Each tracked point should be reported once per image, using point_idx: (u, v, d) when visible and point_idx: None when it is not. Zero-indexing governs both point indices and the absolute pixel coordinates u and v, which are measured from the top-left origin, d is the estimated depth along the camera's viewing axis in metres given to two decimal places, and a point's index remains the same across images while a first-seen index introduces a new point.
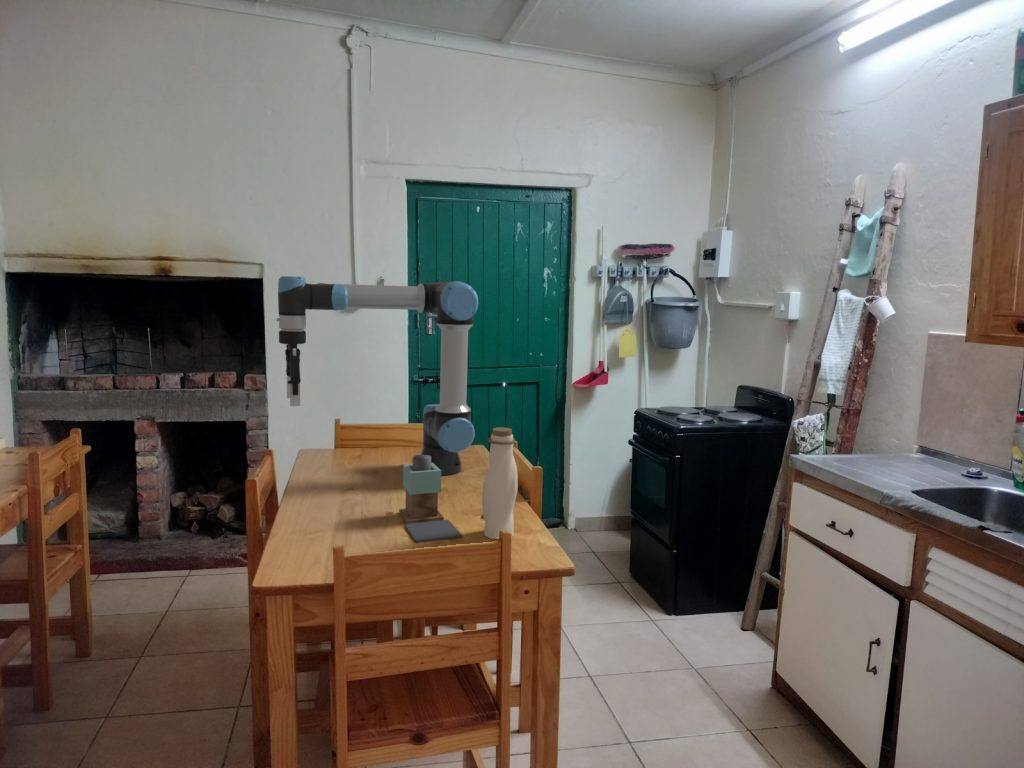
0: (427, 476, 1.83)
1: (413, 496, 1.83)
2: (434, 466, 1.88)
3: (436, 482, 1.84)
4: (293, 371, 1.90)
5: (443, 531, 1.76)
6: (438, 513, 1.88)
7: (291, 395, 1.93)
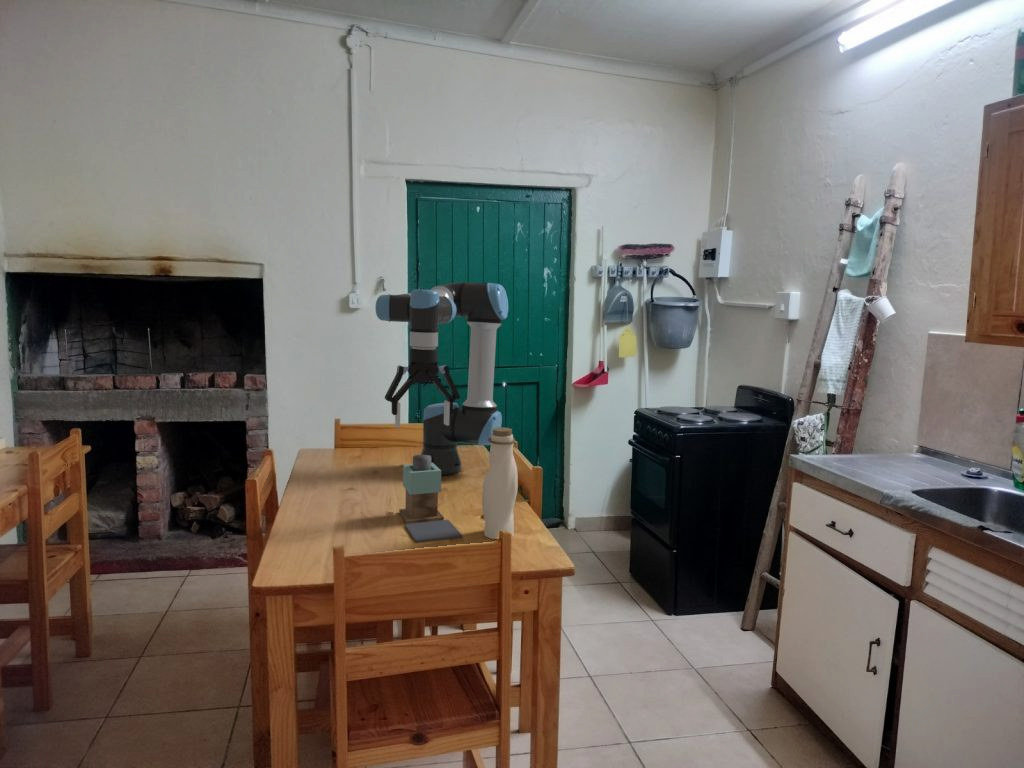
0: (427, 476, 1.83)
1: (413, 496, 1.83)
2: (434, 466, 1.88)
3: (436, 482, 1.84)
4: (389, 388, 1.80)
5: (443, 531, 1.76)
6: (438, 513, 1.88)
7: (395, 414, 1.82)
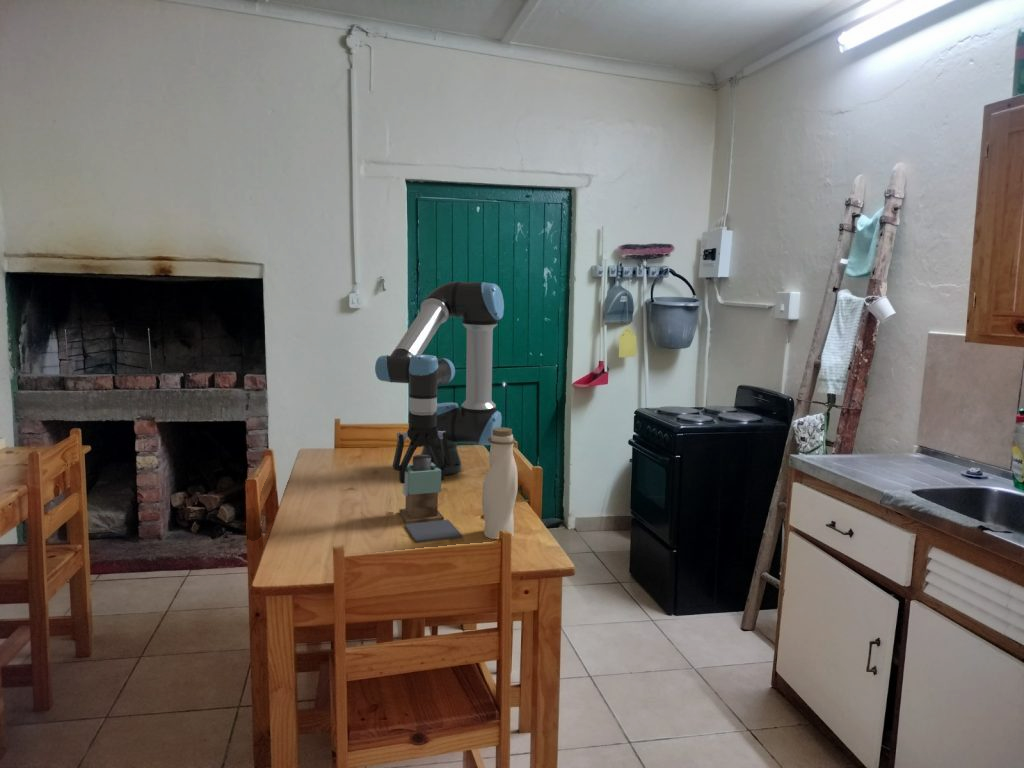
0: (427, 476, 1.83)
1: (413, 496, 1.83)
2: (434, 466, 1.88)
3: (436, 482, 1.84)
4: (394, 457, 1.83)
5: (443, 531, 1.76)
6: (438, 513, 1.88)
7: None
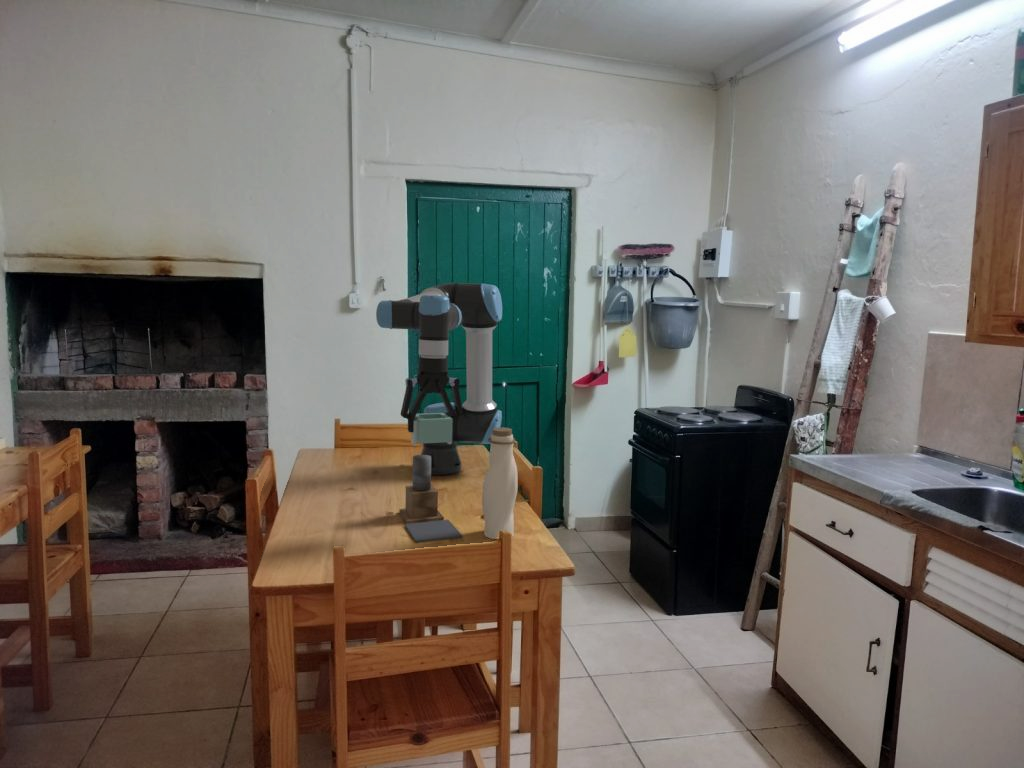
0: (437, 424, 1.71)
1: (413, 496, 1.83)
2: (445, 415, 1.76)
3: (447, 431, 1.72)
4: (403, 404, 1.71)
5: (443, 531, 1.76)
6: (438, 513, 1.88)
7: (411, 431, 1.74)
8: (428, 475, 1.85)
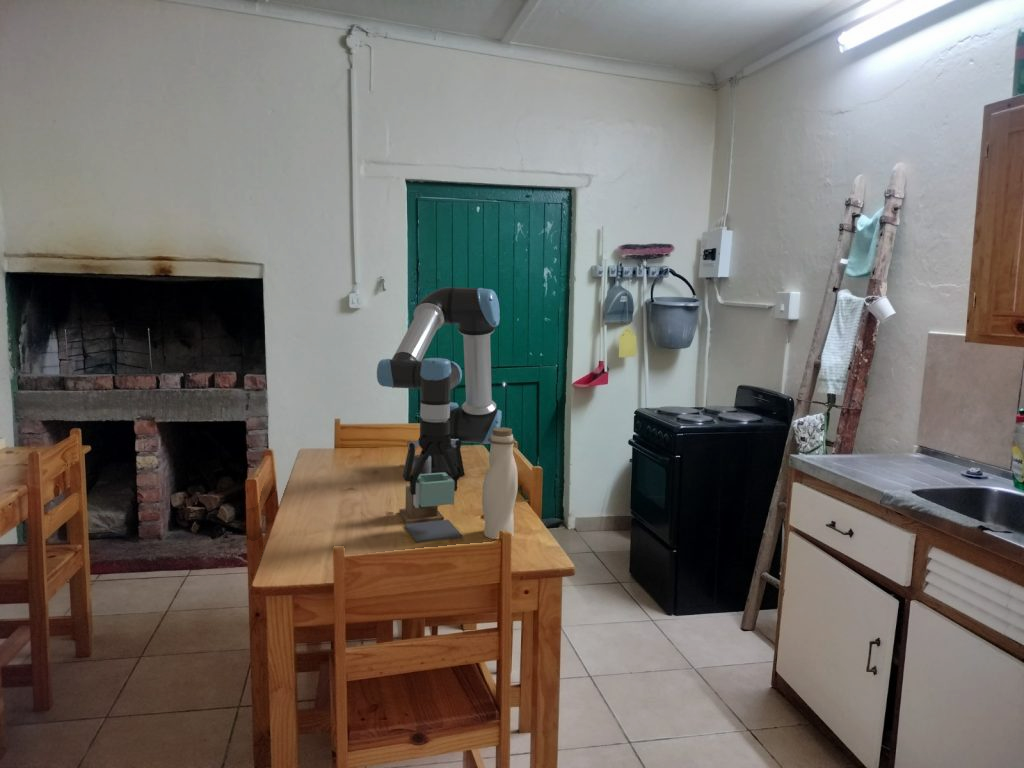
0: (440, 487, 1.71)
1: None
2: (447, 476, 1.77)
3: (449, 493, 1.73)
4: (405, 467, 1.72)
5: (443, 531, 1.76)
6: (438, 513, 1.88)
7: None
8: None
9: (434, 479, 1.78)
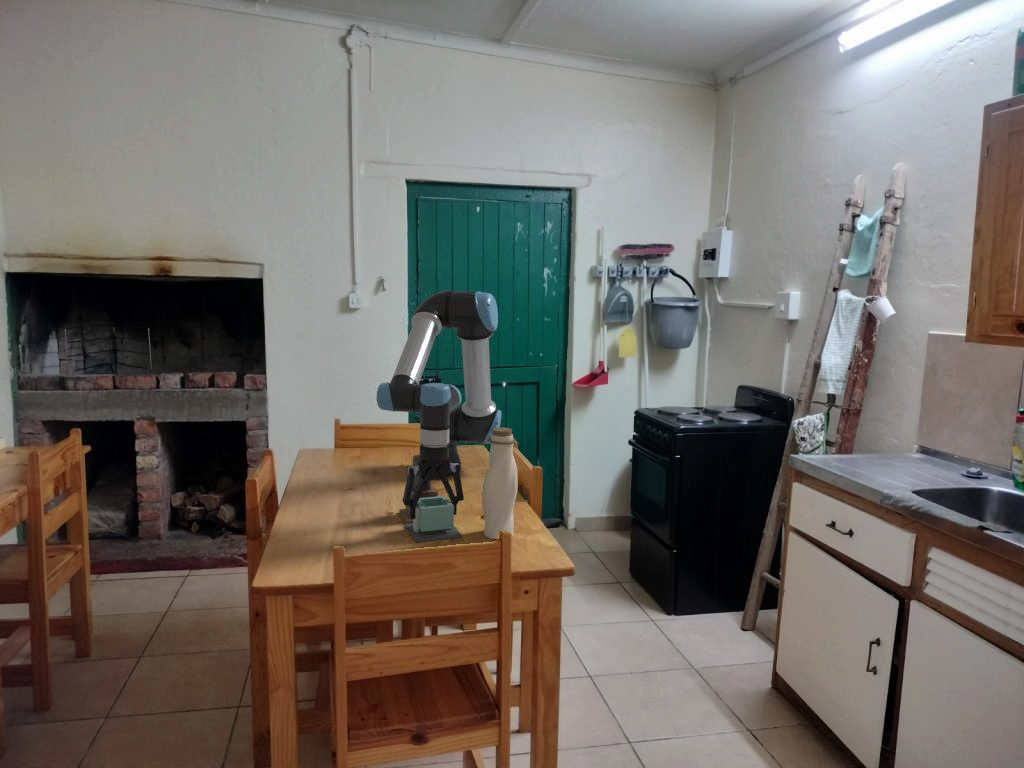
0: (439, 512, 1.72)
1: None
2: (446, 500, 1.78)
3: (448, 518, 1.74)
4: (405, 492, 1.73)
5: (443, 531, 1.76)
6: None
7: None
8: None
9: (434, 503, 1.79)
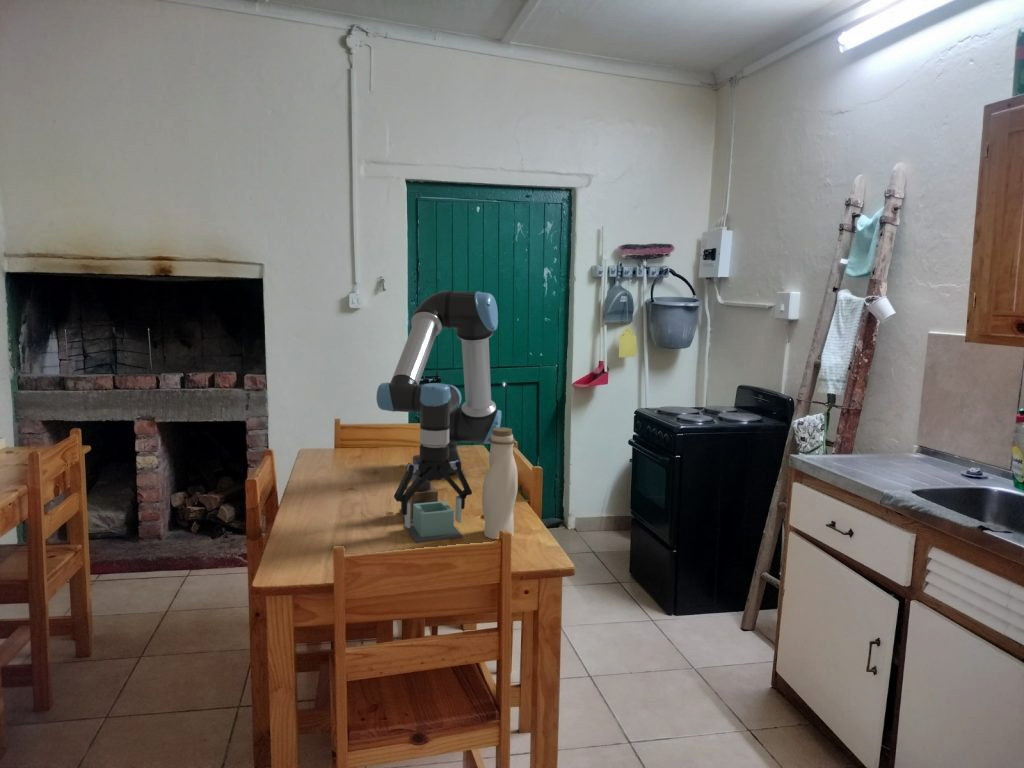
0: (439, 517, 1.73)
1: (413, 496, 1.83)
2: (446, 505, 1.78)
3: (448, 523, 1.74)
4: (399, 487, 1.72)
5: None
6: None
7: None
8: None
9: (433, 508, 1.80)
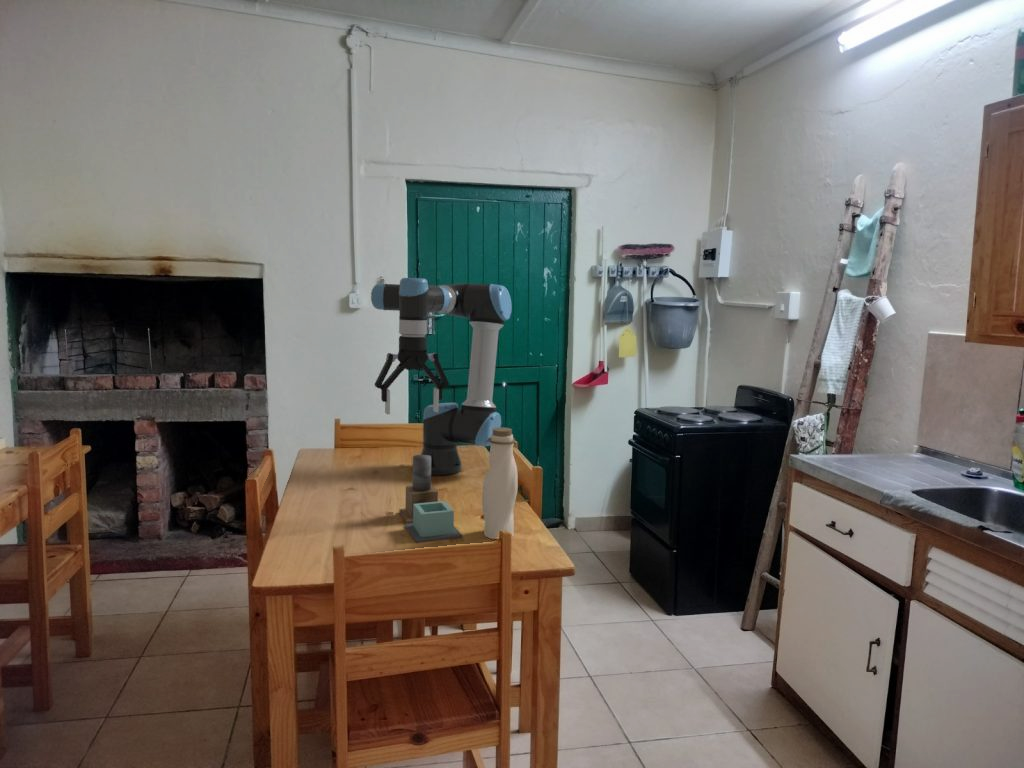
0: (439, 517, 1.73)
1: (413, 496, 1.83)
2: (446, 505, 1.78)
3: (448, 523, 1.74)
4: (379, 376, 1.82)
5: None
6: None
7: (385, 401, 1.85)
8: (428, 475, 1.85)
9: (433, 508, 1.80)
